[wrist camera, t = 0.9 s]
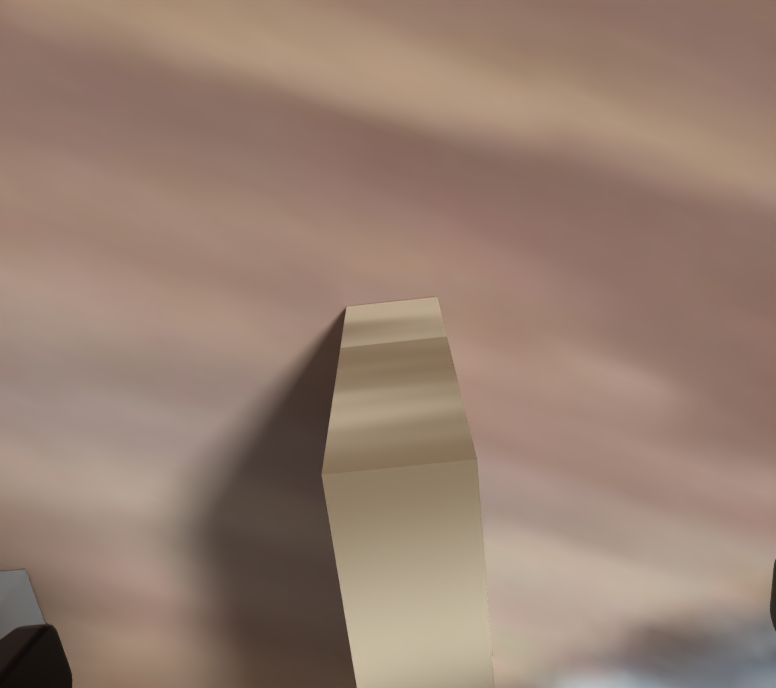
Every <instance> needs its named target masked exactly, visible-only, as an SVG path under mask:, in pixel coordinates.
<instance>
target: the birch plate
mask: <svg viewBox="0 0 776 688" xmlns="http://www.w3.org/2000/svg"><path fill="white" fill-rule="evenodd" d="M321 475H322V481H323V487H324V493H325V499H326V505H327V511H328V517H329V523H330V529H331V535H332V541H333V547H334V553H335V559H336V565H337V571H338V577H339V583H340V589H341V595H342V601H343V607H344V613H345V619H346V625H347V631H348V637H349V643H350V649H351V655H352V661H353V667H354V673H355V679H356V685H357V688H494V676H493V663H492V650H491V637H490V623H489V610H488V597H487V584H486V571H485V558H484V545H483V532H482V519H481V506H480V493H479V480H478V467H477V457H476V453H475V449H474V445H473V441H472V437H471V433H470V429H469V425H468V421H467V417H466V413H465V408H464V404H463V400H462V396H461V392H460V388H459V384H458V380H457V376H456V372H455V368H454V364H453V359H452V355H451V351H450V347H449V343H448V339H447V335H446V331H445V327H444V323H443V319H442V315H441V311H440V306H439V302H438V298H437V297H432V298H423V299H413V300H404V301H395V302H386V303H377V304H368V305H358V306H349V307H346V314H345V320H344V327H343V334H342V340H341V347H340V354H339V361H338V367H337V374H336V381H335V387H334V394H333V401H332V407H331V414H330V421H329V427H328V434H327V441H326V448H325V454H324V461H323V468H322V474H321Z"/></svg>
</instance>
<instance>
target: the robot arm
mask: <svg viewBox="0 0 776 688" xmlns="http://www.w3.org/2000/svg"><path fill="white" fill-rule="evenodd" d="M770 615H771V619H772V623H773V626H774V628H775V631H776V560H775V563H774V569H773V580H772V590H771V600H770ZM0 688H72V674H71V670H70V667H69V664H68V661H67V658H66V655H65V652H64V649H63V646H62V644H61V641H60V638H59V635H58V632H57V630H56V629H55V628H54V626H52V625H50V624H35V625H25V626H20V627H17V628H15V629H14V630H12V631H11V632H10V633H8V634H7V635H6V636H4V637H3V638H1V639H0Z"/></svg>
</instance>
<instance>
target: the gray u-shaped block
mask: <svg viewBox="0 0 776 688" xmlns="http://www.w3.org/2000/svg"><path fill="white" fill-rule="evenodd" d="M35 624H45V622H44V620H43V617H42V614H41V611H40V608H39V606H38V603H37V600H36V597H35V594H34V592H33V589H32V586H31V583H30V580H29V578H28V575H27V572H26V569H23V570H13V571H3V572H0V639H1V638H3V637H4V636H6V635H7V634H8V633H10V632H11V631H12V630H14V629H15V628H17V627H20V626H25V625H35Z"/></svg>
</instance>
